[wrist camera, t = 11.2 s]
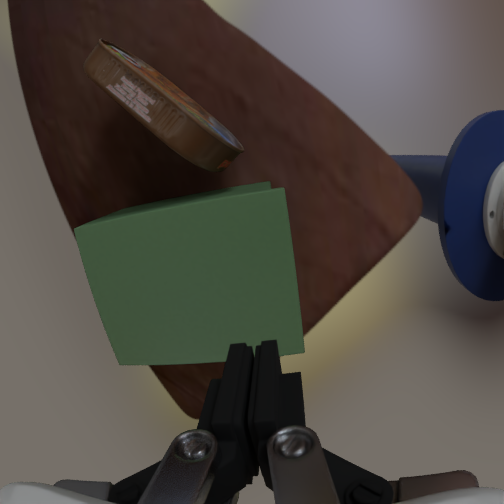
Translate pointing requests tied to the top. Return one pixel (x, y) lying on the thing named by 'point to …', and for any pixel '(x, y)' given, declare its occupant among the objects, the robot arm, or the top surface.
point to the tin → (162, 107)
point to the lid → (195, 279)
